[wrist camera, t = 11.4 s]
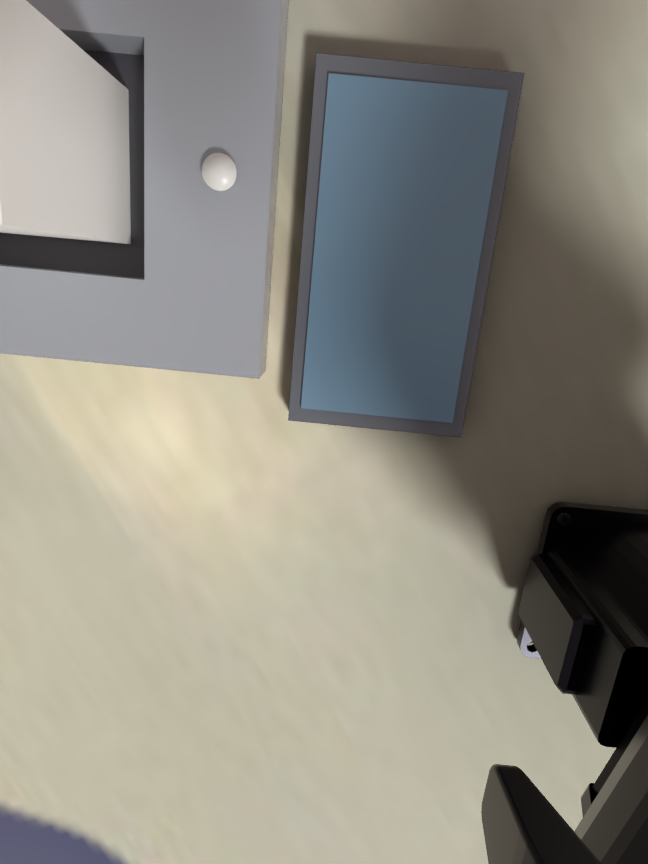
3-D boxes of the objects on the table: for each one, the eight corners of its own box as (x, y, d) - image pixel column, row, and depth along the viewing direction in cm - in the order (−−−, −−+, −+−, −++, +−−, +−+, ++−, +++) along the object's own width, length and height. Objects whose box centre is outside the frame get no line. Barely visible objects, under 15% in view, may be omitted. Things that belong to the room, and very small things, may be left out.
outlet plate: (290, -39, 15) (284, -76, 14) (265, 370, 19) (258, 379, 17) (-190, -85, 16) (-252, -127, 14) (-129, 332, 19) (-174, 337, 17)
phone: (515, 82, 16) (525, 71, 15) (456, 430, 19) (461, 438, 18) (317, 63, 16) (316, 51, 15) (290, 414, 19) (287, 421, 18)
